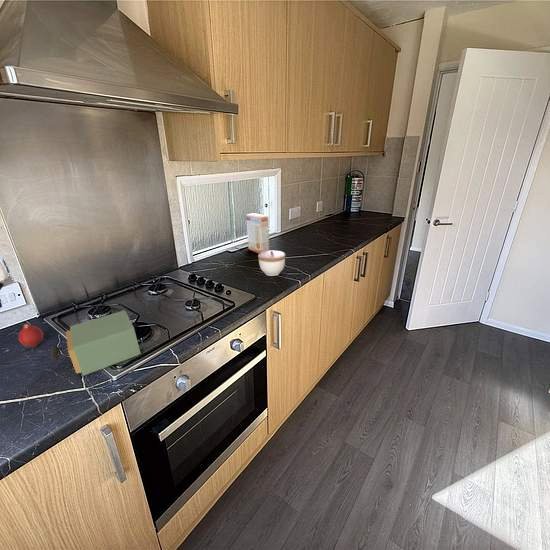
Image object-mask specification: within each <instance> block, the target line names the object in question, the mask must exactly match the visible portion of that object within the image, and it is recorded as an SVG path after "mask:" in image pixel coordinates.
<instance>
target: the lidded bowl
mask: <svg viewBox="0 0 550 550" xmlns="http://www.w3.org/2000/svg"><path fill="white" fill-rule="evenodd" d="M257 258H258V265H259V268H260V270H261V271H262V273H264V274H265V275H266V276H269V277H275V276H278V275H280V274H281V272H282V271H283V270H284V268H285V266H286V253H285V252H284V251H281V250H269V251H264V252H261V253H260V254H259V253H258V255H257Z"/></svg>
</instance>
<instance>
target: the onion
mask: <svg viewBox="0 0 550 550" xmlns="http://www.w3.org/2000/svg"><path fill="white" fill-rule="evenodd" d="M43 340H44V332H43V330H42V329H41V328H39V327H38V326H36V325H30V324H24V325H23V326H22V329H21V330H20V331H19V333H18V342H19V344H21V345H23V346H25V347H31V348H36V347H37V346H38V345H40V344H41V342H42V341H43Z"/></svg>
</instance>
